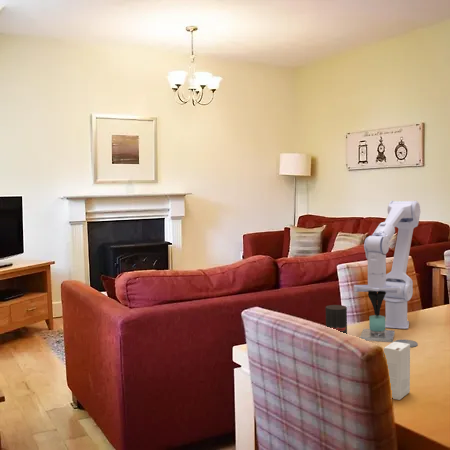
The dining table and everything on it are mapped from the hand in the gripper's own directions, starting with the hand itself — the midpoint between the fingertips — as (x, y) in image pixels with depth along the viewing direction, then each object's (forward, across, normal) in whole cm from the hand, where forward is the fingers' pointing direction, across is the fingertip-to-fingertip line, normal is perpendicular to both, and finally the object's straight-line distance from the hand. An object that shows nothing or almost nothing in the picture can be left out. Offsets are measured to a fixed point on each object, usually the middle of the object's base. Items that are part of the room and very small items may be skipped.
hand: (377, 314), depth 178 cm
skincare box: (+8, +9, -48) cm, 49 cm away
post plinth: (+7, 0, 0) cm, 7 cm away
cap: (+5, 0, 0) cm, 5 cm away
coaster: (+7, +9, -6) cm, 13 cm away
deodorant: (+8, -9, -25) cm, 28 cm away
